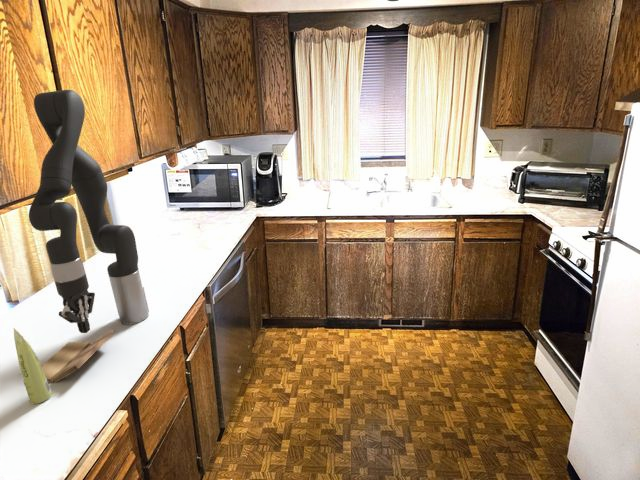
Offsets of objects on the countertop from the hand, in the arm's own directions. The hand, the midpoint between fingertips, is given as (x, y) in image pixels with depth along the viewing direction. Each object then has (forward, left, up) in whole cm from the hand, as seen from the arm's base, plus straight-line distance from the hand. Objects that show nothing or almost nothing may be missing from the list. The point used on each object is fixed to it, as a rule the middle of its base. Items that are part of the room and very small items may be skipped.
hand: (85, 331), depth 125 cm
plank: (0, -2, -8) cm, 8 cm away
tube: (+15, -5, -11) cm, 19 cm away
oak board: (0, -10, -10) cm, 15 cm away
